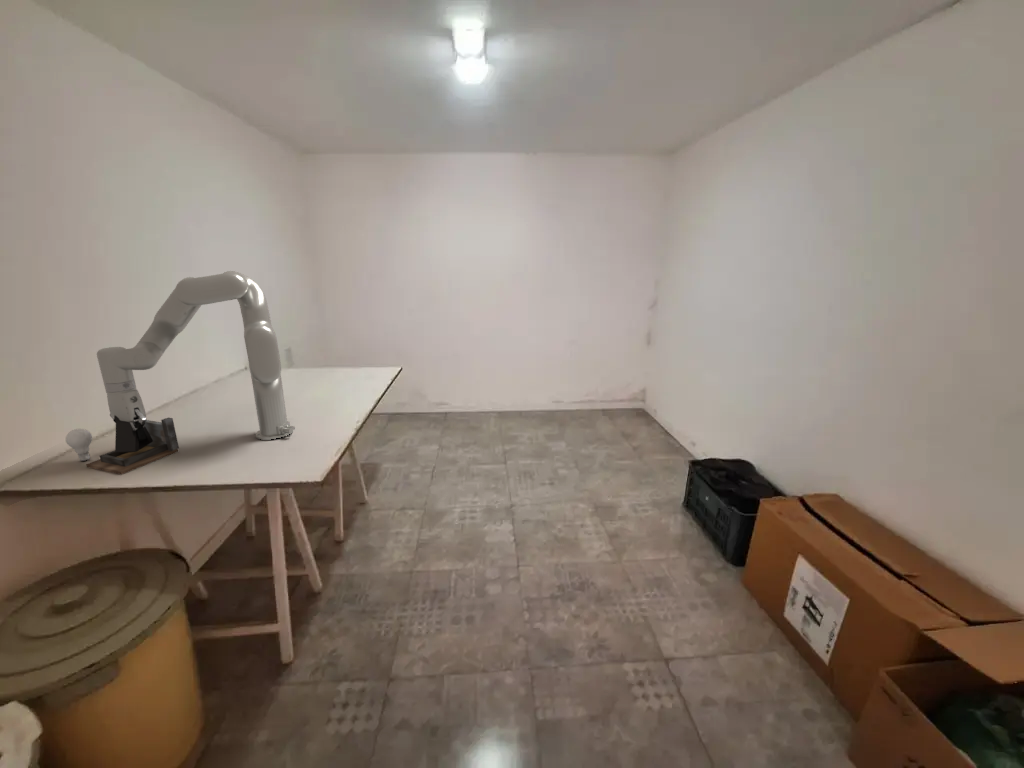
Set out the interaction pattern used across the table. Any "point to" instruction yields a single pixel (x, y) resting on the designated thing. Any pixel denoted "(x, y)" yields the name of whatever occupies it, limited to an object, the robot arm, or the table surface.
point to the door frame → (142, 450)
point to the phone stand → (129, 437)
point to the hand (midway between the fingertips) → (133, 438)
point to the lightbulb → (80, 442)
